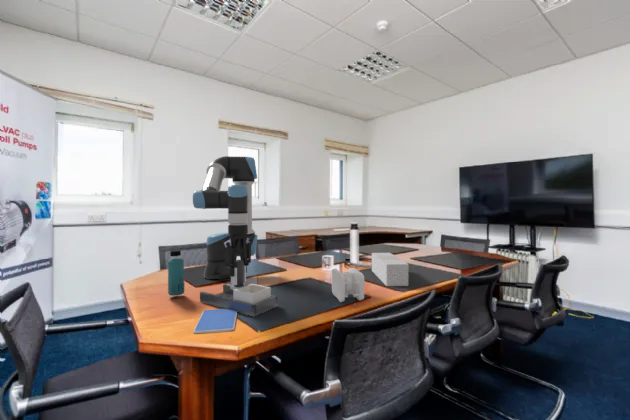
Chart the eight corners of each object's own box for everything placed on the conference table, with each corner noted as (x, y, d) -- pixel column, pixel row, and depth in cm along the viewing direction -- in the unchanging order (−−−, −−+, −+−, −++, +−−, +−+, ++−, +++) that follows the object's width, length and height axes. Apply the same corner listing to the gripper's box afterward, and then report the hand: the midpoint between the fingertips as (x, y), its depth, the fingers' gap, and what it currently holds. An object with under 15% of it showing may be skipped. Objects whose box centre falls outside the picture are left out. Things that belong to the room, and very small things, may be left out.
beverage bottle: (178, 299, 126) (177, 252, 125) (164, 298, 127) (163, 251, 127) (187, 295, 132) (187, 249, 132) (174, 294, 134) (173, 249, 133)
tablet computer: (203, 312, 113) (203, 309, 113) (238, 310, 115) (238, 307, 115) (192, 335, 94) (192, 331, 94) (234, 332, 96) (234, 328, 96)
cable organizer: (330, 293, 135) (330, 267, 135) (353, 291, 138) (353, 266, 137) (340, 304, 121) (340, 275, 120) (365, 302, 123) (365, 274, 123)
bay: (225, 293, 135) (225, 284, 134) (277, 306, 118) (277, 296, 118) (200, 301, 124) (200, 292, 124) (253, 317, 107) (253, 306, 107)
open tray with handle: (244, 296, 126) (244, 258, 125) (270, 302, 118) (270, 261, 118) (225, 303, 118) (224, 262, 117) (252, 310, 110) (252, 266, 109)
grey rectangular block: (371, 270, 178) (371, 252, 178) (389, 270, 179) (389, 252, 178) (386, 286, 146) (386, 264, 146) (408, 286, 147) (408, 264, 146)
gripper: (247, 222, 129) (247, 277, 130) (214, 225, 115) (214, 286, 115) (260, 223, 125) (260, 279, 126) (227, 226, 110) (228, 289, 111)
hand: (238, 282), depth 120 cm, fingers closed on open tray with handle, 4 cm apart
